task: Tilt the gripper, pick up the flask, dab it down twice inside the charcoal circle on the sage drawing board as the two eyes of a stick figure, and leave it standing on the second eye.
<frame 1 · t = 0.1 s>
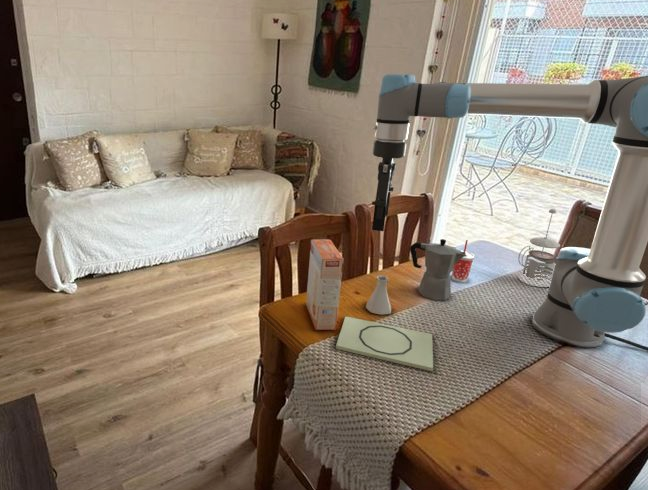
hand: (380, 222, 114), 28 cm above the table, tool pointing down, fingers open, 13 cm apart
beverage cup: (459, 280, 146), on the table
coffeepot: (430, 293, 137), on the table
drawing board: (384, 342, 111), on the table
cracker box: (320, 317, 123), on the table
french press: (532, 281, 144), on the table
flask: (378, 309, 127), on the table
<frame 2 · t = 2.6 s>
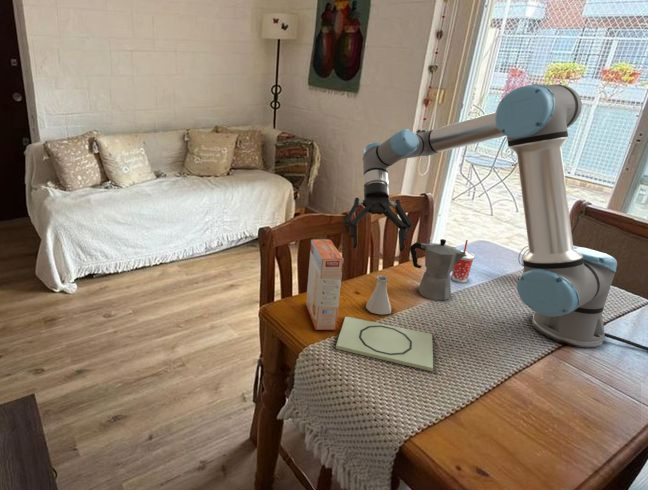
hand: (378, 248, 132), 15 cm above the table, tool tilted 45°, fingers open, 13 cm apart
nothing on the table moved.
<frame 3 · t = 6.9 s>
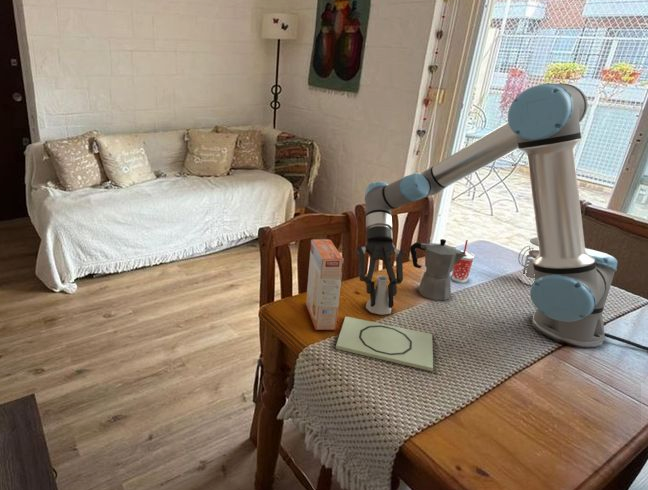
hand: (382, 305, 122), 3 cm above the table, tool tilted 45°, fingers closed on flask, 4 cm apart
flask: (378, 309, 127), on the table, touching gripper
everything else where it was.
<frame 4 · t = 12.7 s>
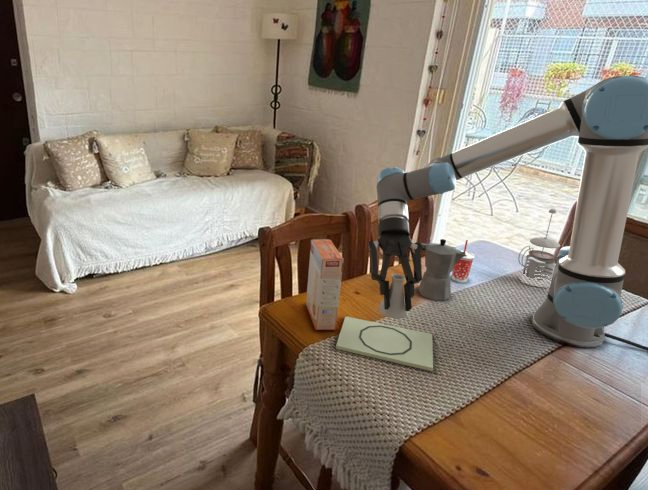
hand: (397, 308, 106), 11 cm above the table, tool tilted 45°, fingers closed on flask, 4 cm apart
flask: (392, 312, 110), point 7 cm above the table, touching gripper
everything else where it was.
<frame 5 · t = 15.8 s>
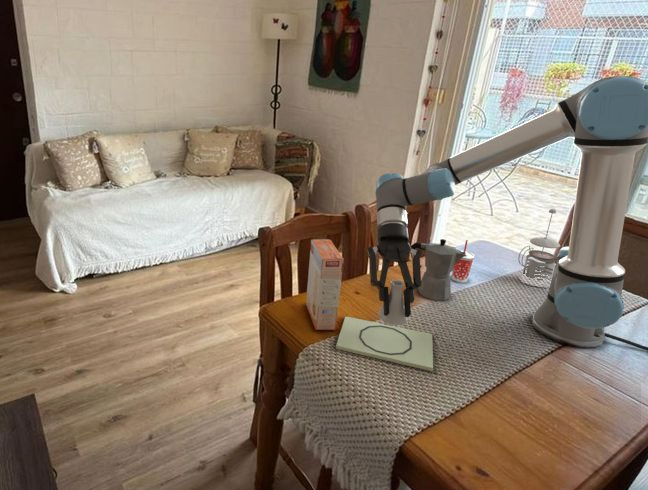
hand: (397, 314, 106), 10 cm above the table, tool tilted 45°, fingers closed on flask, 4 cm apart
flask: (392, 319, 110), point 6 cm above the table, touching gripper
everything else where it was.
when the fingers open (4 cm above the table, at t = 18.3 s): flask stays where it is, resting on drawing board.
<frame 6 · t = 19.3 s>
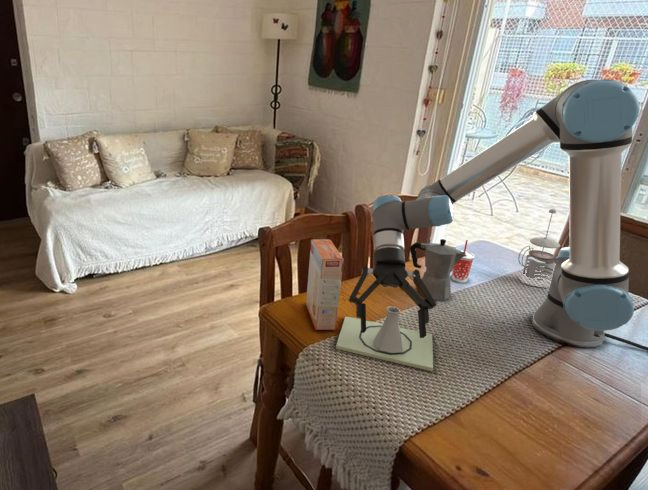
hand: (393, 334, 104), 6 cm above the table, tool tilted 45°, fingers open, 13 cm apart
flask: (388, 346, 108), point 1 cm above the table, touching drawing board
everything else where it was.
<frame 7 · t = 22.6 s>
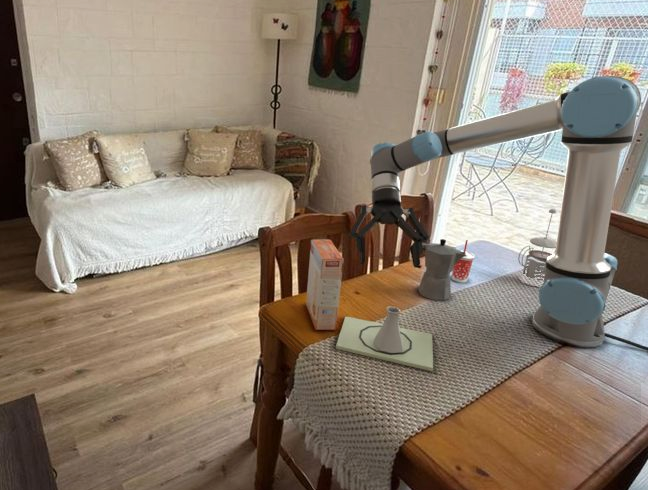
hand: (389, 264, 114), 18 cm above the table, tool tilted 45°, fingers open, 13 cm apart
nothing on the table moved.
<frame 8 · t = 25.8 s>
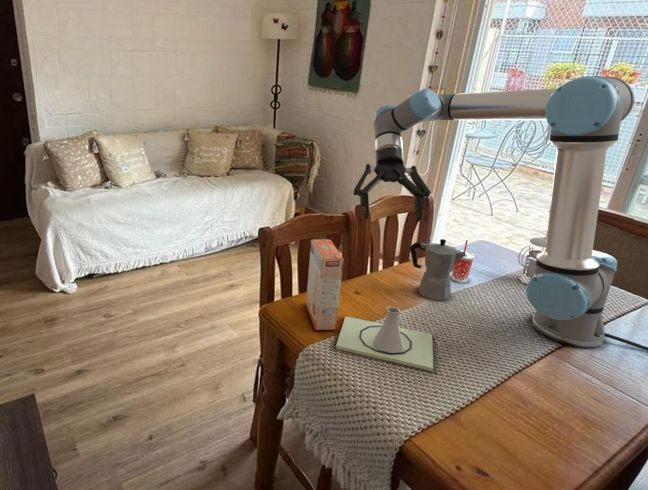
hand: (392, 218, 119), 28 cm above the table, tool tilted 45°, fingers open, 13 cm apart
nothing on the table moved.
at the end: flask 0.7 cm from the target spot on the drawing board, point 0.9 cm above the drawing board's base; flask tilted 1°; the gripper is holding nothing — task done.
